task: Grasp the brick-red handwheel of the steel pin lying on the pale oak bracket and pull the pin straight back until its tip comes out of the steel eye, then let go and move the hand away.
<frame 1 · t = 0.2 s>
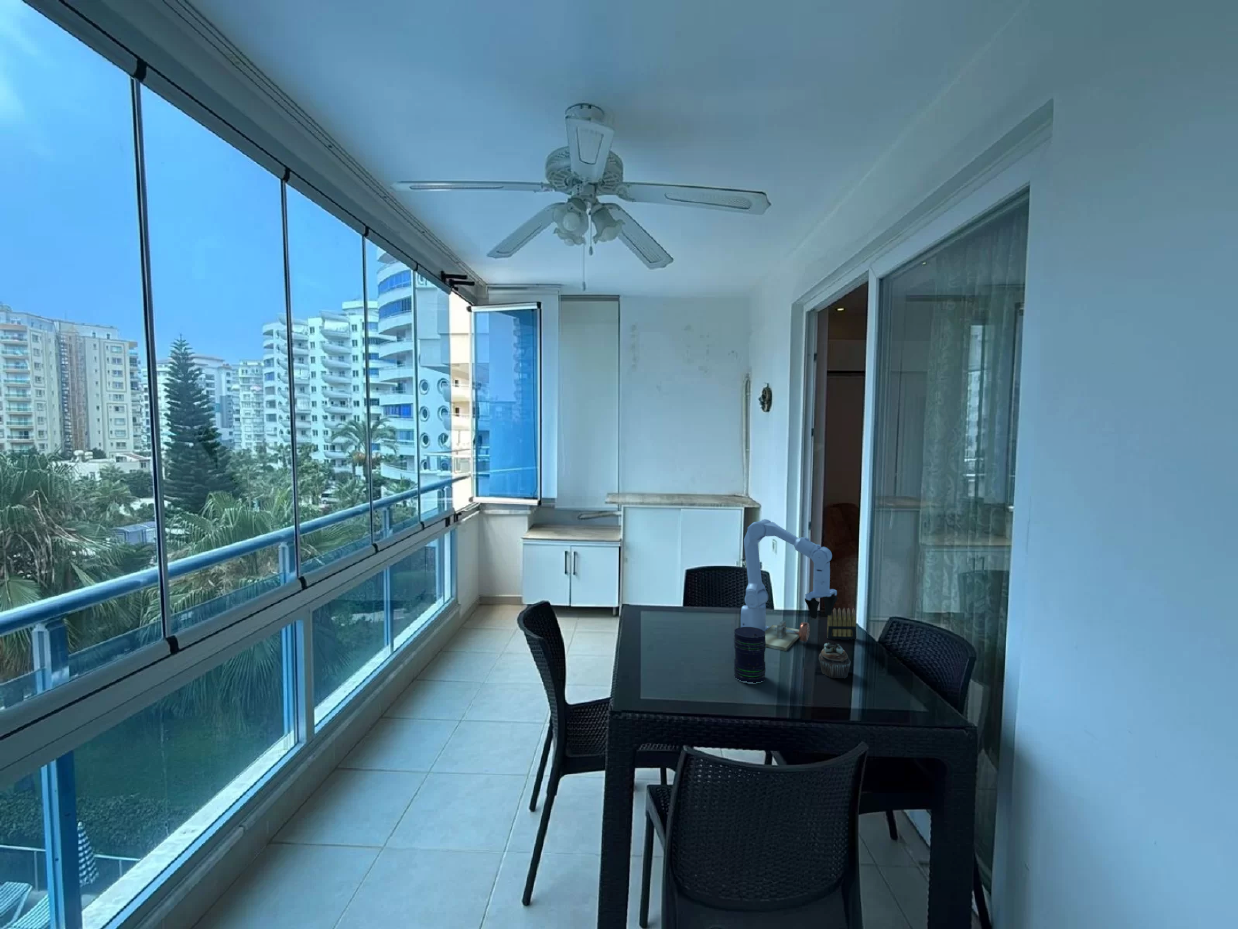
hand: (820, 616, 208), 10 cm above the table, tool pointing down, fingers open, 7 cm apart
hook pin: (790, 629, 210), point 4 cm above the table, slide at 0.0 cm
storage jar: (749, 678, 178), on the table
ammunition clip: (841, 639, 213), on the table
eye bracket: (781, 639, 212), on the table
cupcake: (834, 674, 181), on the table
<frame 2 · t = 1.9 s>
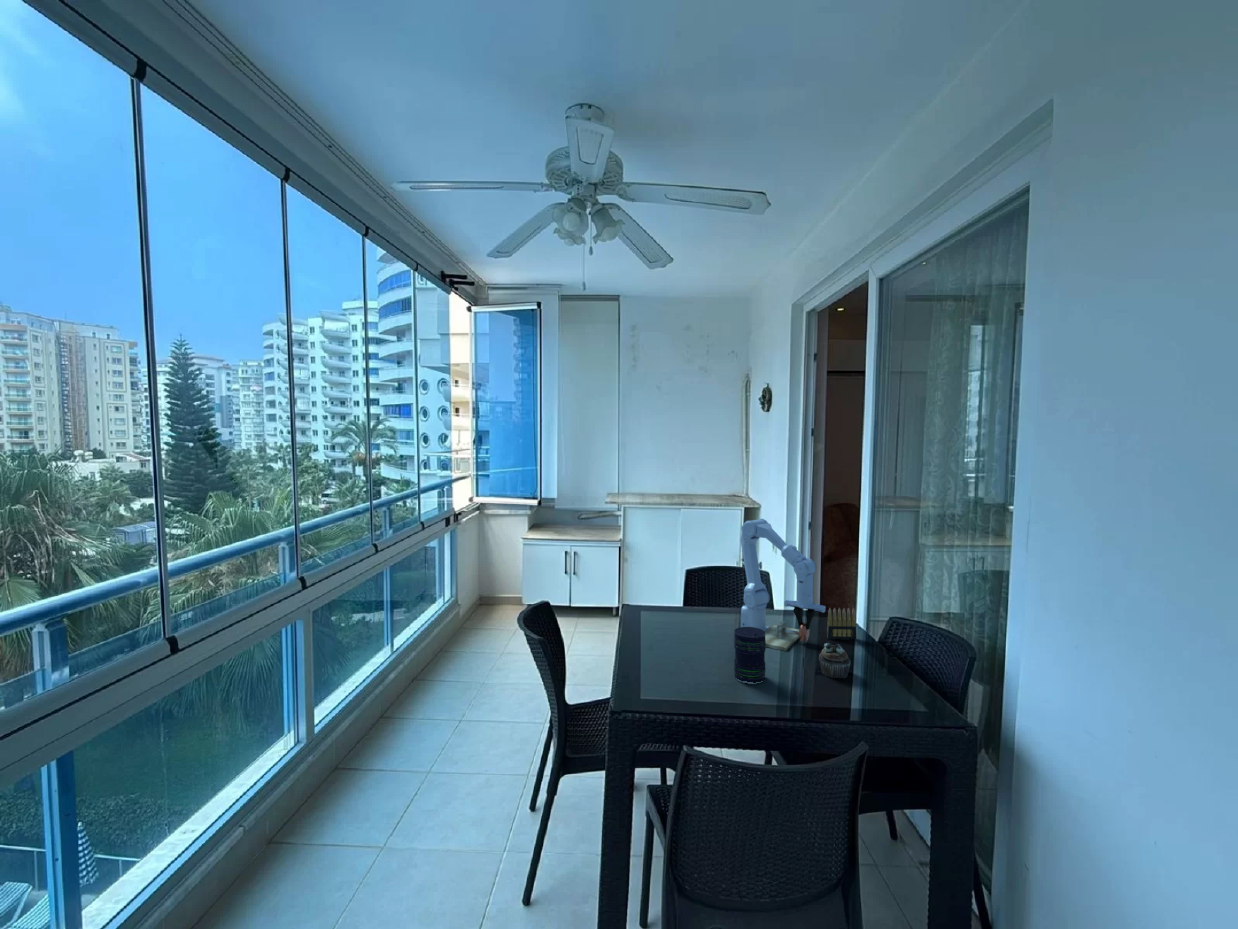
hand: (804, 628, 207), 6 cm above the table, tool pointing down, fingers closed on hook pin, 2 cm apart
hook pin: (790, 629, 210), point 4 cm above the table, slide at 0.0 cm, touching gripper
everything else where it was.
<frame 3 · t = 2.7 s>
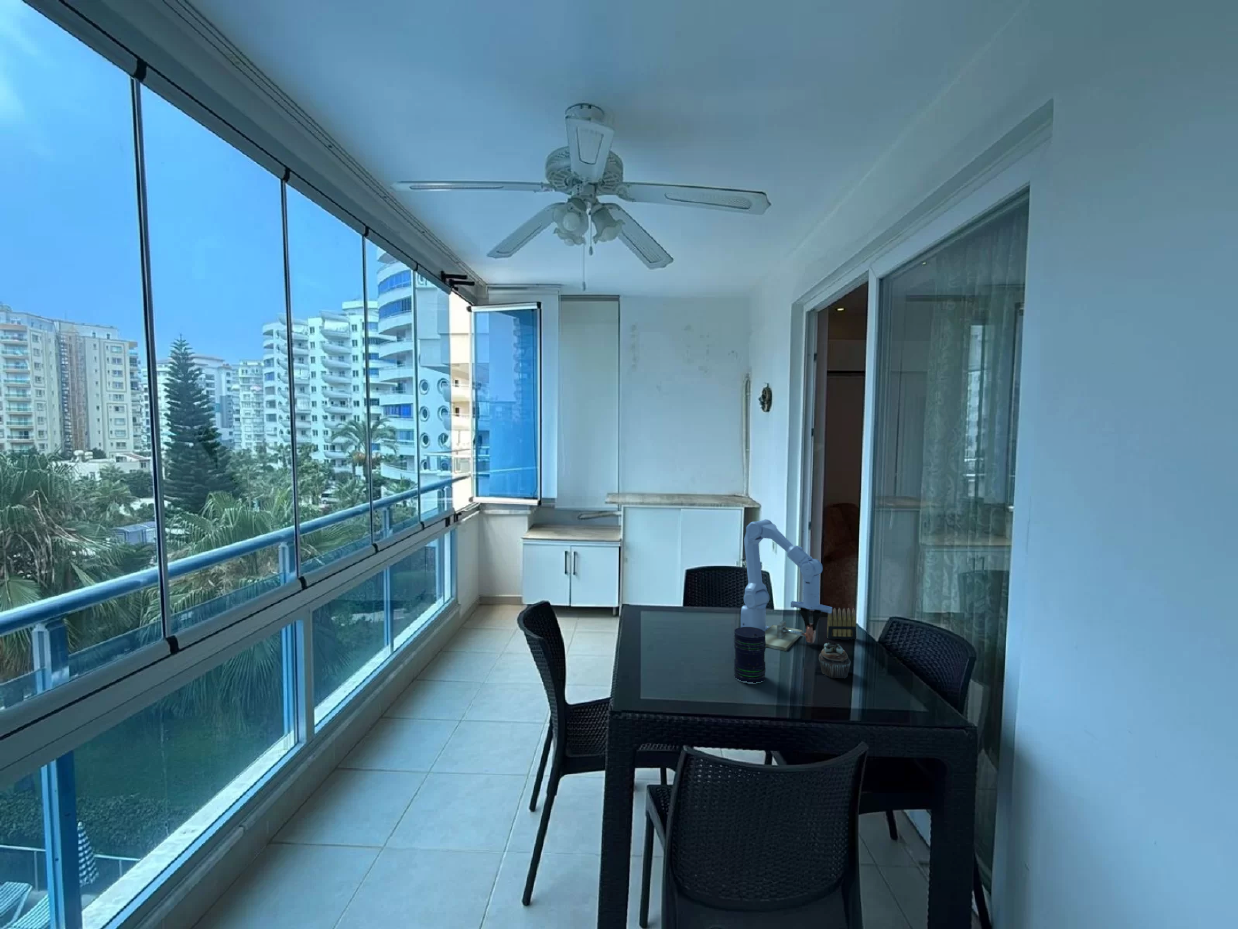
hand: (810, 629, 206), 6 cm above the table, tool pointing down, fingers closed on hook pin, 2 cm apart
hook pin: (797, 630, 209), point 4 cm above the table, slide at 2.4 cm, touching gripper
everything else where it was.
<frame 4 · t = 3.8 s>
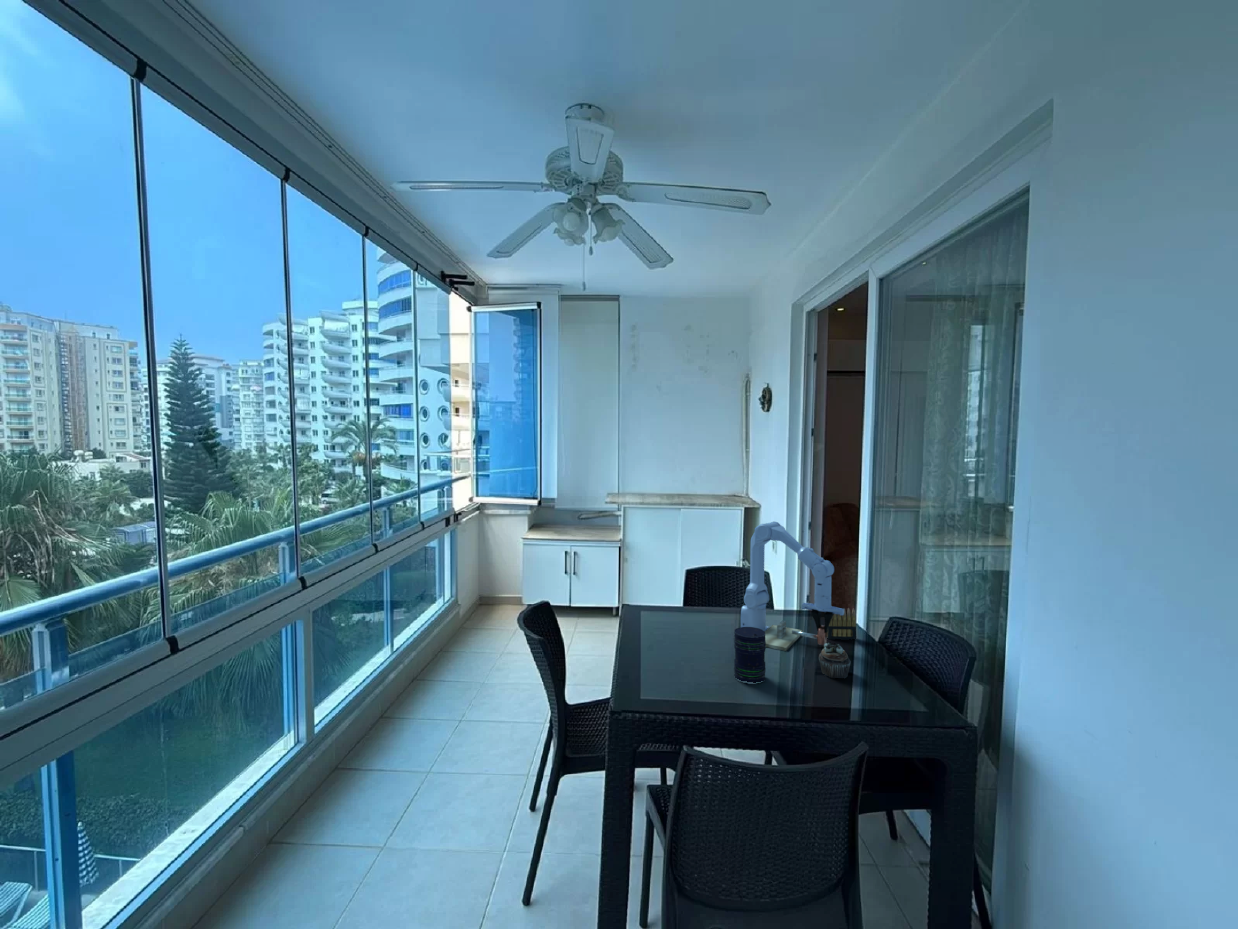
hand: (822, 631, 204), 6 cm above the table, tool pointing down, fingers closed on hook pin, 2 cm apart
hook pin: (808, 632, 206), point 4 cm above the table, slide at 6.5 cm, touching gripper
everything else where it was.
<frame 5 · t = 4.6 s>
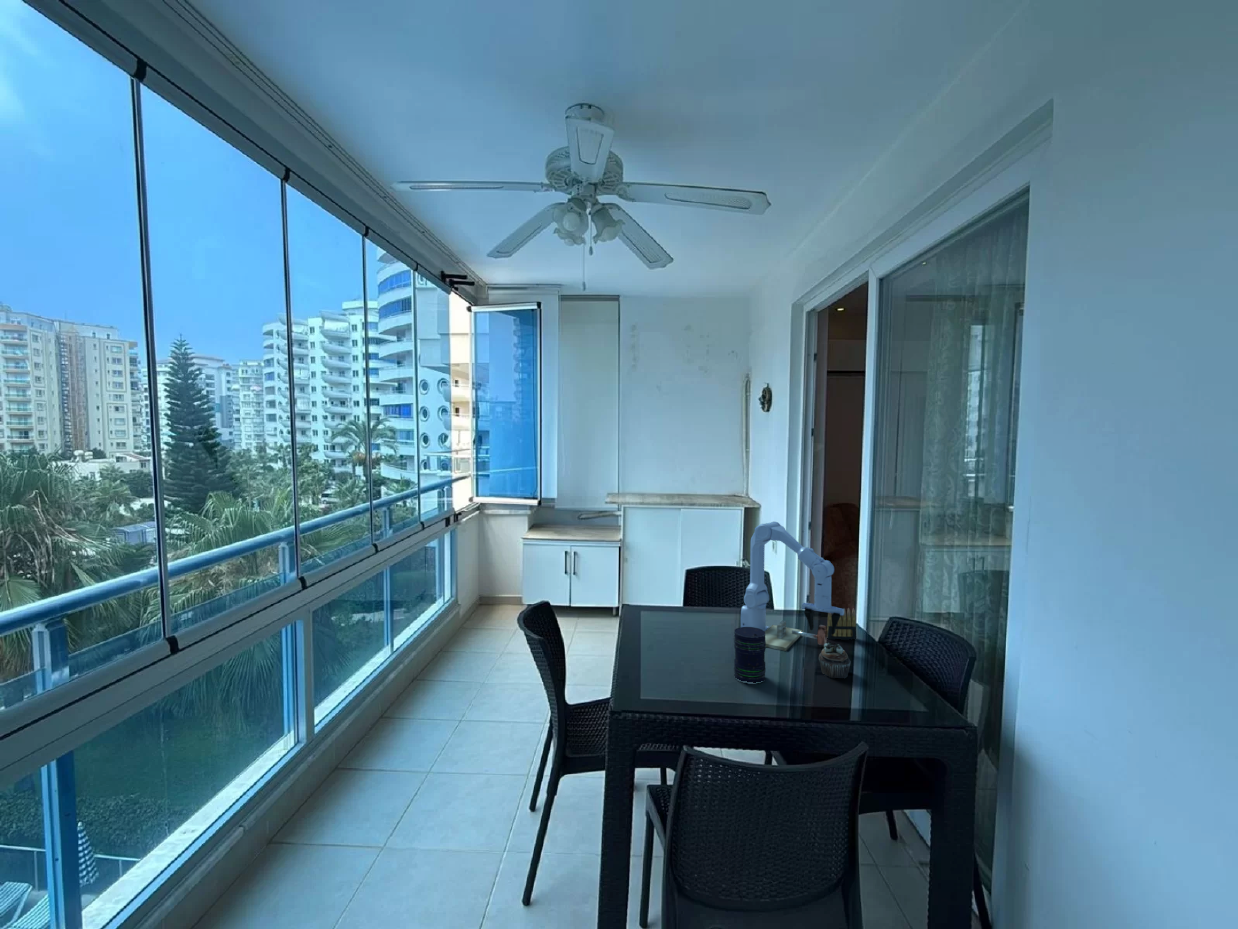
hand: (822, 631, 204), 6 cm above the table, tool pointing down, fingers open, 7 cm apart
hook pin: (808, 632, 206), point 4 cm above the table, slide at 6.5 cm
everything else where it was.
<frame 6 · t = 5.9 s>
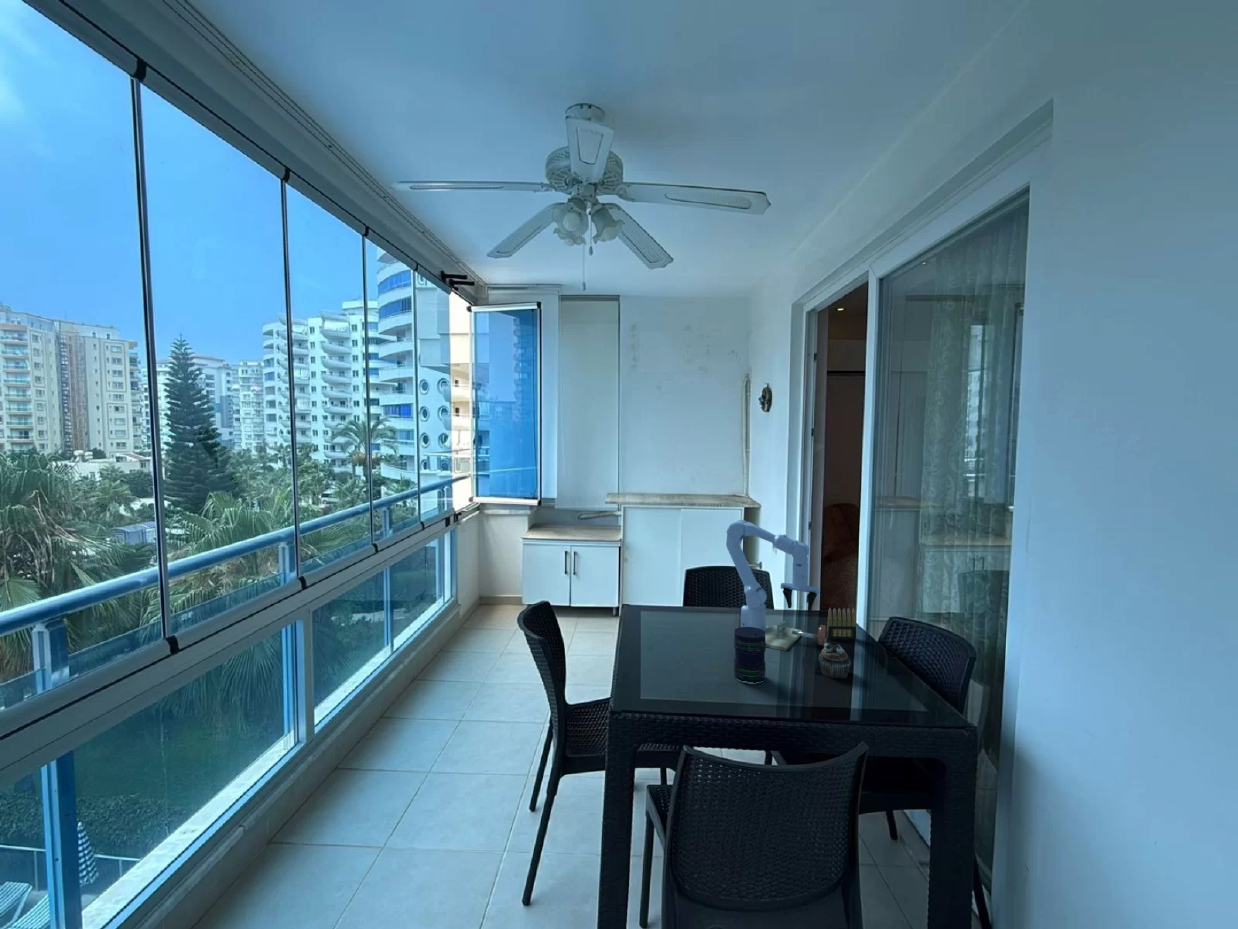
hand: (799, 609, 215), 10 cm above the table, tool pointing down, fingers open, 7 cm apart
nothing on the table moved.
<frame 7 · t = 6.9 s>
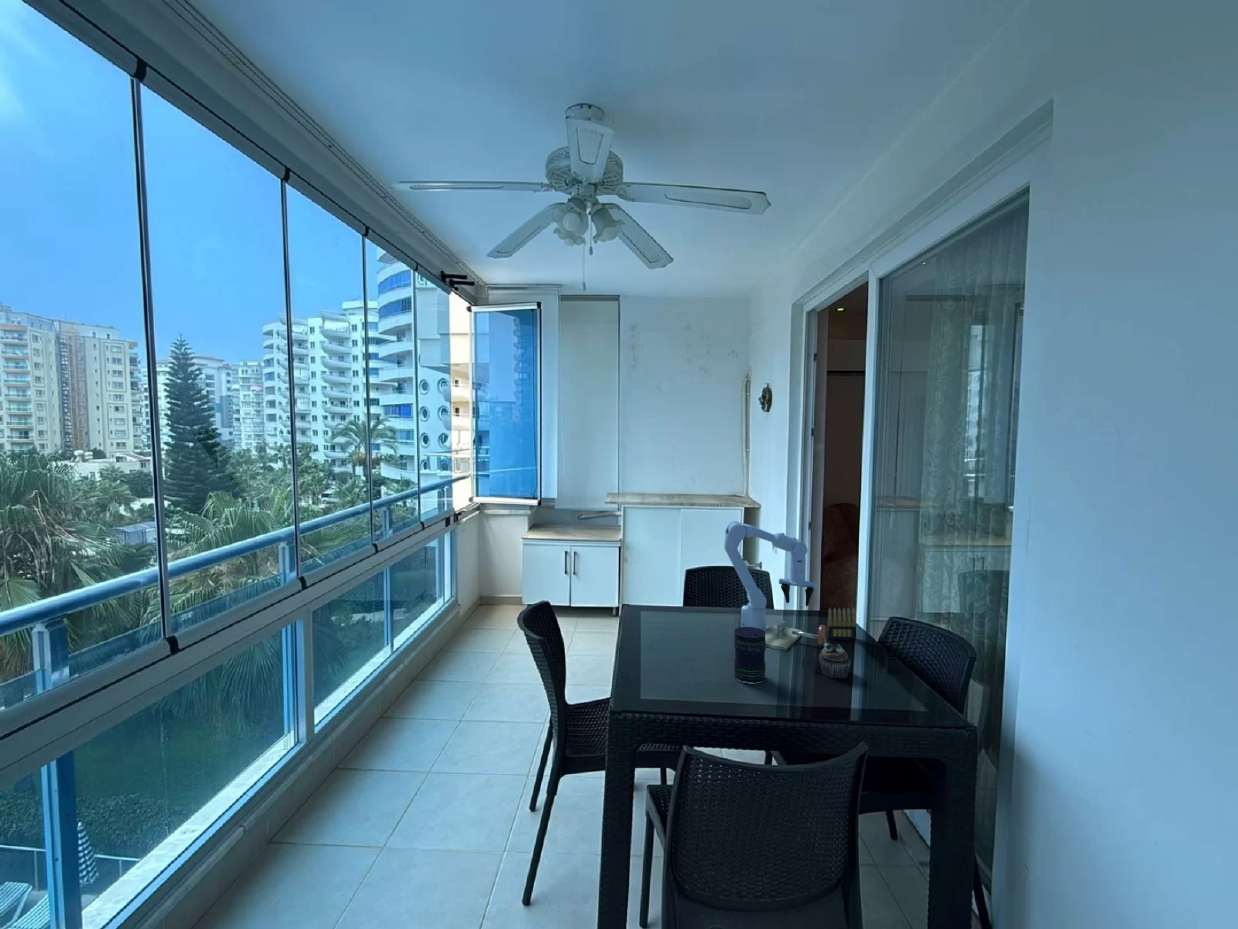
hand: (797, 604, 222), 10 cm above the table, tool pointing down, fingers open, 7 cm apart
nothing on the table moved.
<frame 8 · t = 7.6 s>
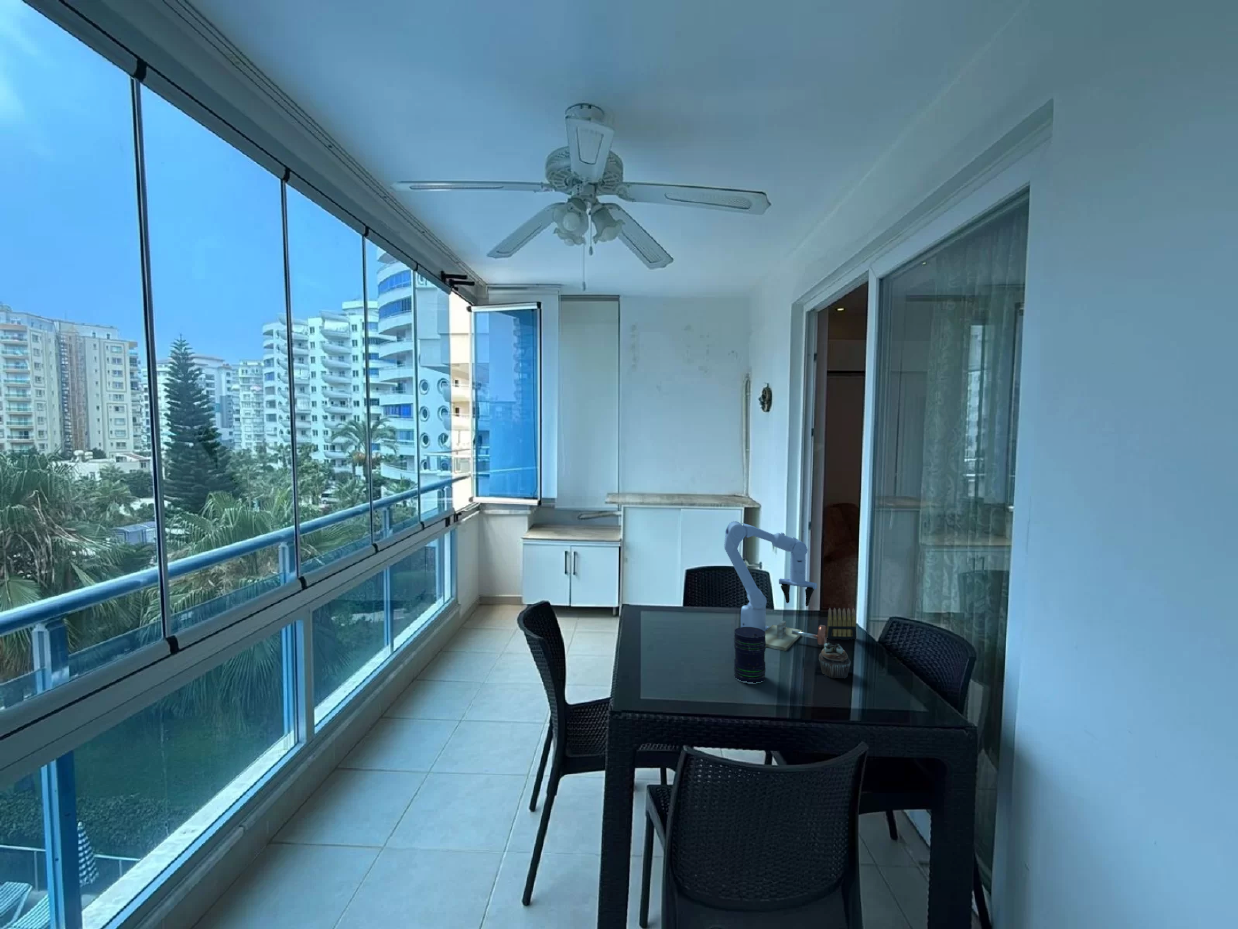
hand: (797, 604, 222), 10 cm above the table, tool pointing down, fingers open, 7 cm apart
nothing on the table moved.
at the end: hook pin slide at 6.5 cm; the gripper is holding nothing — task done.
